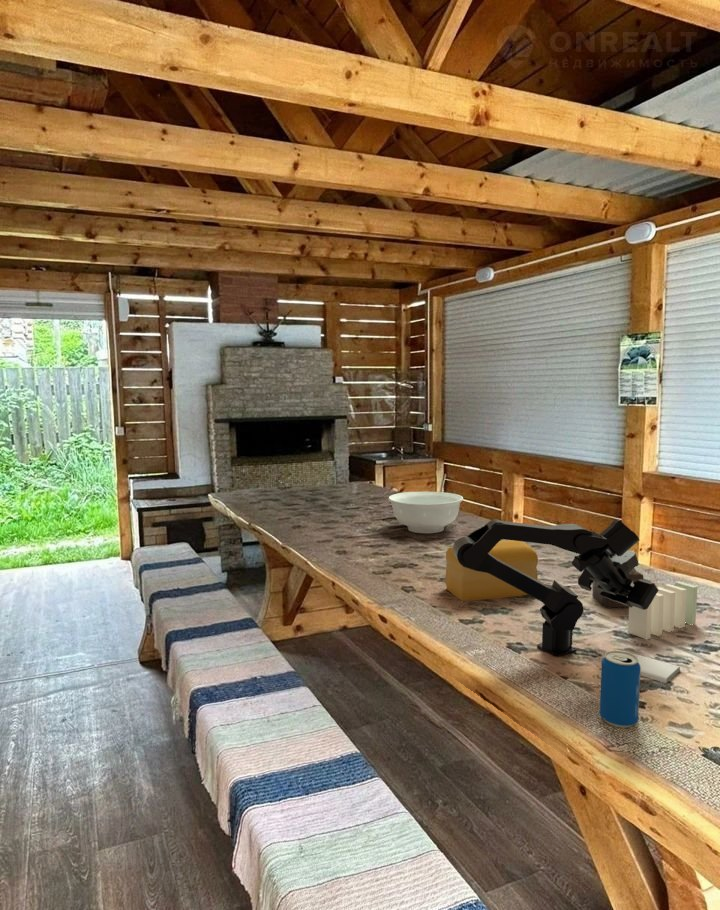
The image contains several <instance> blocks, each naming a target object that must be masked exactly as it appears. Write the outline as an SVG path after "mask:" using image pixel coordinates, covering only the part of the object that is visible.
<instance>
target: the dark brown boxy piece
mask: <svg viewBox="0 0 720 910" xmlns="http://www.w3.org/2000/svg"><path fill="white" fill-rule="evenodd" d="M629 574H630V575H631V576H630V577H629V579H631V580H633V582H636V581H637V580H640V579H642V580H644V575H643V574H642V573H640V572H639V571H637V570H636V567H635V568H633V569H632V570H631V571H630V572H629ZM598 585H599V584H598V582H595V581H593V583H592V594H591V595H592V598H593V599H594V600H595V601H597V602H598V603H599V604H601V605H602V606H603V607H605V608H606V609H629V607H628V606H626V605H623V604H621V603H618V602H616V601H613V600H611V599H608V598H606V597H603V596H601V592H602V591H601V590H599V589H598V588H597V587H598Z"/></svg>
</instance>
